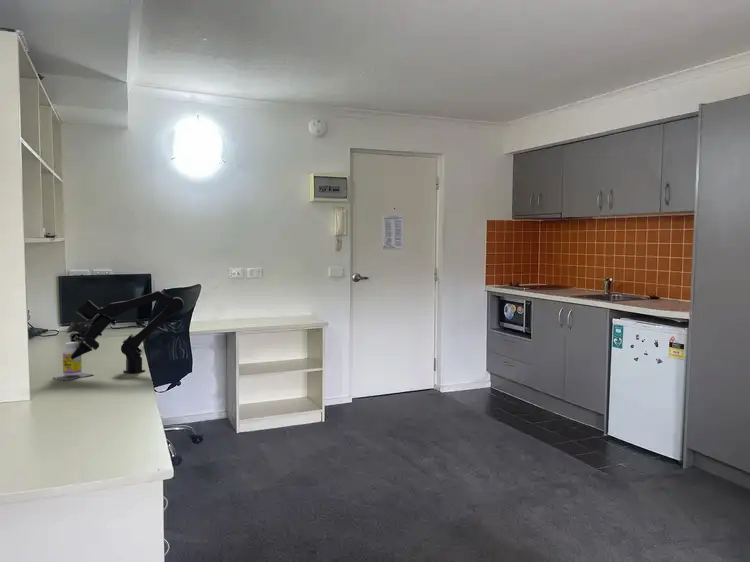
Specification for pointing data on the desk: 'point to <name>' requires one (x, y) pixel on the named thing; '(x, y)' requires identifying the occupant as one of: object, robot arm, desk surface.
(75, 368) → the supplement bottle
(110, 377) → the desk surface
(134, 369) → the robot arm
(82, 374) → the mat
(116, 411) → the desk surface
